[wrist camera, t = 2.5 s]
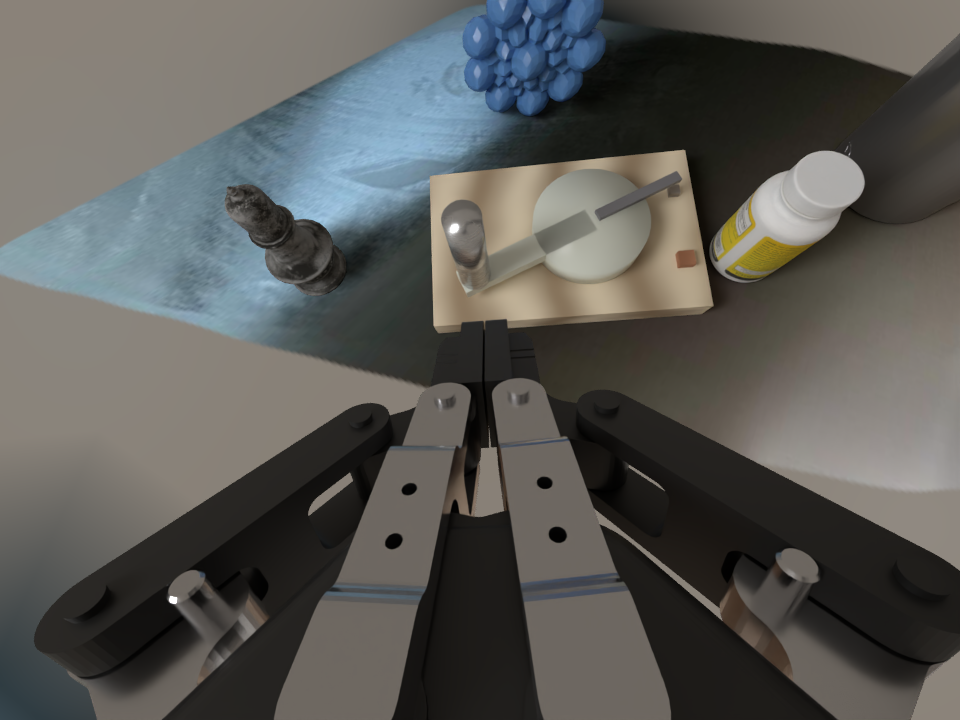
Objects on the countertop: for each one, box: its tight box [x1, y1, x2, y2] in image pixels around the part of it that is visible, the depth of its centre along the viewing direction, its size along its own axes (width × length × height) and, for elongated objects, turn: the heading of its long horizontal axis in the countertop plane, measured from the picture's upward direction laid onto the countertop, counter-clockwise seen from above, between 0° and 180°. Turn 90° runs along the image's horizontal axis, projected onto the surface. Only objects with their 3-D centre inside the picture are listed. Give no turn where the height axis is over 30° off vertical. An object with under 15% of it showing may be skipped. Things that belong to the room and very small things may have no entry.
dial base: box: [430, 150, 713, 333], centre depth 34 cm, size 22×14×3 cm, turn 93°
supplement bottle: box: [709, 151, 865, 283], centre depth 29 cm, size 5×5×10 cm
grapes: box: [463, 0, 606, 116], centre depth 33 cm, size 12×7×12 cm, turn 82°
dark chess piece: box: [225, 184, 346, 296], centre depth 31 cm, size 6×6×12 cm
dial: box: [441, 169, 682, 297], centre depth 28 cm, size 19×9×10 cm, turn 115°
